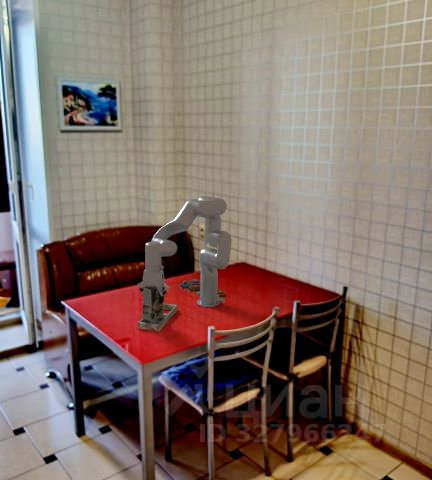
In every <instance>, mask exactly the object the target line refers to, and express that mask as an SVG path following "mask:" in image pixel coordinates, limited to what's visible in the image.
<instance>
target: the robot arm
mask: <svg viewBox="0 0 432 480" xmlns="http://www.w3.org/2000/svg"><path fill="white" fill-rule="evenodd" d="M227 207H228V205H227V202H226V200H224V199H223V198H219V197H213V196H209V195H208V196H206V195H203V196H200V197H199V198H190V199H188V200H187V201H186V202H185V204H183V206H182V208H181V209H180V210H179V212H178V213H177V215H176V217H174V219H173V220H171V221H170V222H168V223H166V224H165V225H163V226H162V227H160V228H159V229H158V230H157V232H156V233H155V234H154V235H153V237H152V239H151V241H148V242H146V243H145V247H144V248H145V249H144V253H145V254H144V256H145V260H144V261H145V269H144V270H143V275H142V281H141V282H139V283H138V284H137V288H138V290H139V291H140V292H141V294H142V295H143V290H144V287H148V288H156V289H157V291H159V293H160V295H161V296H160V304H162V303H163V302H164V303H165V295H166V294H167V293H168V292H169V290H170V289H171V287H170V286H169V285H167V284H166V283H165V275H164V274H165V273H164V269H165V266H163V265H162V257H169V256H170V257H171V256H173V255H175V254H176V253H177V250H178V245H177V244H176V242H174V241H173V240H169V239H168V238H170V237H172V236H174V235H175V234H179V233H182V232H186V231H188V230H189V228H190V227H191V225H193V223H194V221H195V220H196V219H197V217H199V218H204V219H205V220H204V224H205V225H204V231H203V242H204V244H206V245H207V246H210V247H204V248H201V250H200V252H199V254H198V261H199V267H200V268H199V269H200V276H199V277H200V280H199V281H200V295H199V298H198V300H197V301H196V303H197V305H198V306H200V307H203V308H215V307H217V306H219V305H220V304H223V303H225V299H224V297H219V295H217V287H218V283H219V282H218V281H219V280H218V279H219V278H218V276H219V272H218V269H219V270H225V269H226V268H227V267H228V265H229V263H230V257H231V248H232V236H231V234H230V233H229V232H228V231H225V230H222V228H221V225H222V218H221V215H223V214H225V212H226V211H227ZM212 247H214V248H212ZM215 248H217V249H215ZM162 287H164V288H165V290H163V289H164V288H163V289H162Z"/></svg>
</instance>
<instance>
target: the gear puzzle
mask: <svg viewBox="0 0 432 480" xmlns="http://www.w3.org/2000/svg"><path fill="white" fill-rule="evenodd" d="M178 287H179V289H180V290H185V291H187V292H189V293H195V294H196V295H197V296H200V280H199V279H192V280H189V281H187V280H183V283H180V285H179V286H178ZM217 295H219V298H221V297H224V296H225V295H226V292H225V291H223V290H220V288H219V287H218V286H217Z"/></svg>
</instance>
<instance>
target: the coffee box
mask: <svg viewBox="0 0 432 480" xmlns="http://www.w3.org/2000/svg"><path fill="white" fill-rule="evenodd" d="M163 288H164V287H162V289H163ZM163 290H164V291H165V290H166V288H164V289H163ZM160 296H161V295H160V293H159V291H157V289H156V288H148V287H144V290H143V294H142V315H141V316H142V317H141V319H142V318H143V319H146V320H149V321H154V320H156V319H158V318H160V317H163V314H165V313H164V304H165V301H164V302H163V303H162V304H160Z"/></svg>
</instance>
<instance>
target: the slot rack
mask: <svg viewBox="0 0 432 480" xmlns="http://www.w3.org/2000/svg"><path fill="white" fill-rule="evenodd" d="M178 307H179V306H178V305H177V304H169V303H164V310H166V311H169V312H168V313H163V317H160V318H158V319H156V320H154V321H149V320H146V319H143V318H142V317H141V319H140V320H139V321H138V322H137V329H138V330H139V329H140V330H148V331H153V332H155V331H156V332H160V331H161V330H162V329H163V328H164V327H165V325H166V324H167V323H168V322H169V321H170V320H171V319H172V318H173V316H174V315H175V314H176V313H177V312H178V310H179V309H178Z"/></svg>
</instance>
